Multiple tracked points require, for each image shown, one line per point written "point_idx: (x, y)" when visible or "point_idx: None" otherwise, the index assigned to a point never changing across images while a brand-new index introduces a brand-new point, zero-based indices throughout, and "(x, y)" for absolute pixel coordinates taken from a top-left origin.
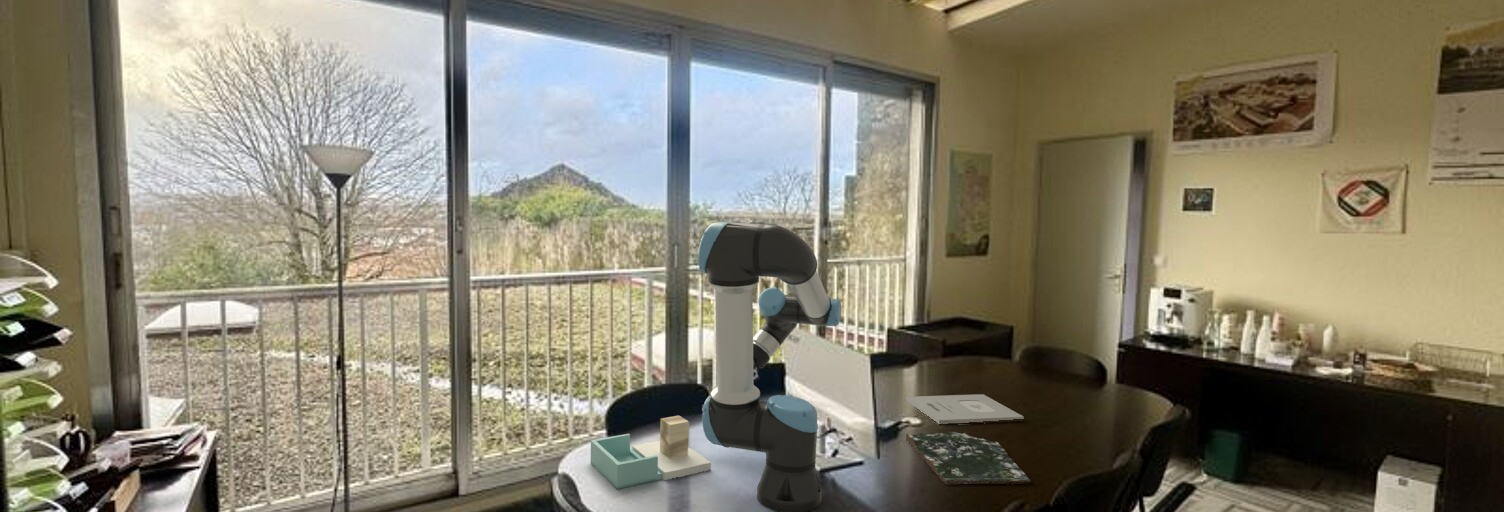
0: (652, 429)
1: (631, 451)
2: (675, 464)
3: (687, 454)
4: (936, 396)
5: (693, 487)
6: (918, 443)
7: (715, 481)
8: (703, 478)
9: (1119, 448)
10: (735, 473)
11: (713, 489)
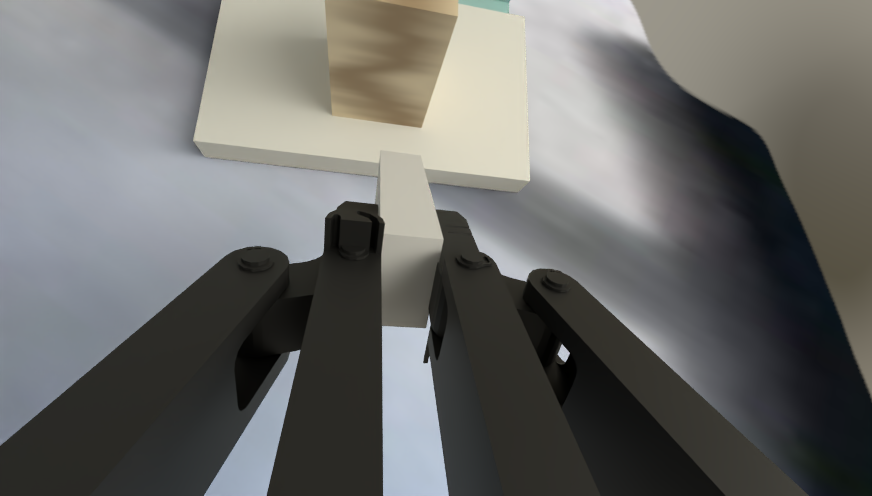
0: (690, 207)
1: (490, 1)
2: (273, 24)
3: (332, 112)
4: None
5: (111, 18)
6: None
7: (92, 107)
8: (154, 90)
9: None
10: (95, 221)
11: (33, 58)
